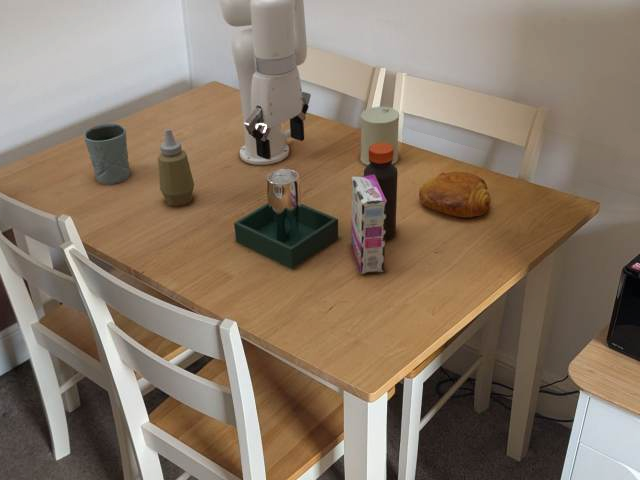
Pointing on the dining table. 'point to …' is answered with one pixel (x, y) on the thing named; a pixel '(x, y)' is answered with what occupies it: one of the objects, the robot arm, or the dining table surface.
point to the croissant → (456, 194)
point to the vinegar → (385, 180)
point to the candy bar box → (368, 224)
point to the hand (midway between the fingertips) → (281, 148)
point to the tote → (259, 238)
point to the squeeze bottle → (174, 172)
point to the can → (379, 130)
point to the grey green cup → (108, 152)
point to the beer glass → (284, 204)
